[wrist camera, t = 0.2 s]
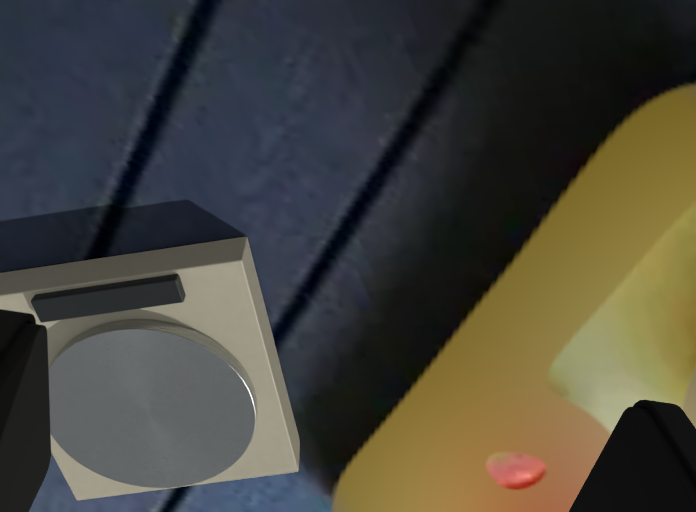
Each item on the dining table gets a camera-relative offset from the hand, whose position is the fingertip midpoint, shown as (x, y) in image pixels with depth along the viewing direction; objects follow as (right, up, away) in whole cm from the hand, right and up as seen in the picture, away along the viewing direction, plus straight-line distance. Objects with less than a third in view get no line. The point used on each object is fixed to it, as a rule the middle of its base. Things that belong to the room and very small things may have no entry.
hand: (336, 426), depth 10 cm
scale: (-9, -3, +22) cm, 24 cm away
